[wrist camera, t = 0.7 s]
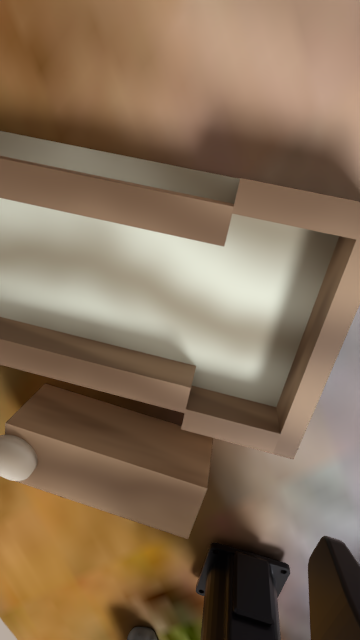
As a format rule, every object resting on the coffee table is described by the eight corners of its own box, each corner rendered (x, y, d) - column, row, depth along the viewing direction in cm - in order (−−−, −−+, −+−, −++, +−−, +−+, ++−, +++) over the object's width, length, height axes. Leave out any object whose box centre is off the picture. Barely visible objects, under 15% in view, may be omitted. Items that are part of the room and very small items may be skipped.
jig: (285, 420, 23) (293, 459, 19) (-40, 336, 25) (-82, 358, 21) (370, 205, 17) (400, 209, 14) (-59, 119, 19) (-120, 106, 16)
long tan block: (196, 480, 26) (186, 548, 21) (31, 426, 27) (-15, 480, 22) (213, 433, 24) (206, 497, 19) (35, 378, 25) (-15, 424, 20)
